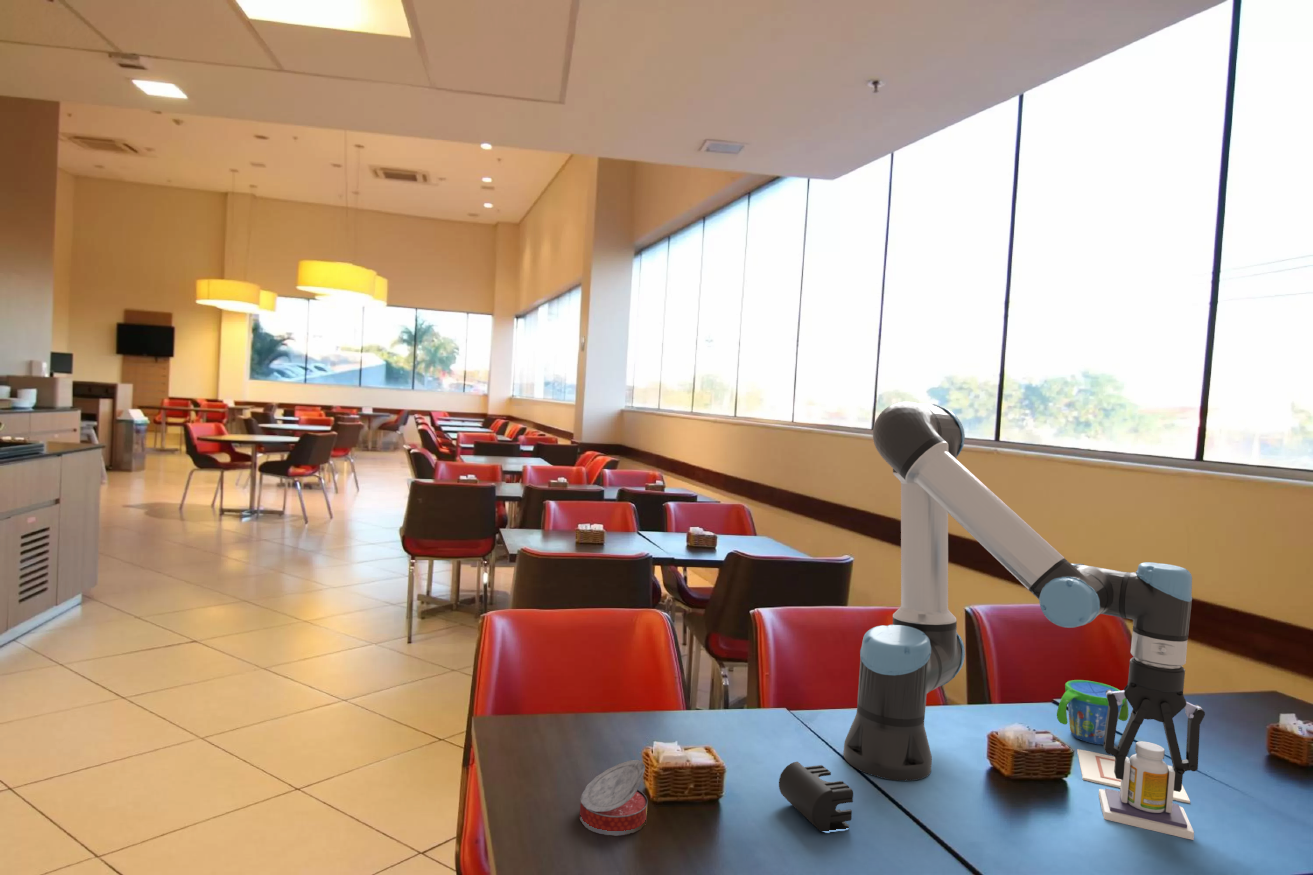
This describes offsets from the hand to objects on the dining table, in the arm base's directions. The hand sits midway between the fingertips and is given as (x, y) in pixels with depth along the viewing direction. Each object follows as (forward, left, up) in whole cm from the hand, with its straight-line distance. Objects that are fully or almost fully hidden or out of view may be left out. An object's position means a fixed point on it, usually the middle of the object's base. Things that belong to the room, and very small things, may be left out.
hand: (1145, 803), depth 129 cm
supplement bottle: (0, 0, -1) cm, 1 cm away
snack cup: (-5, +33, -2) cm, 33 cm away
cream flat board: (0, +17, -2) cm, 17 cm away
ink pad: (0, 0, -2) cm, 2 cm away
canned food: (-73, -45, -3) cm, 86 cm away
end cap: (-47, -29, -3) cm, 55 cm away
